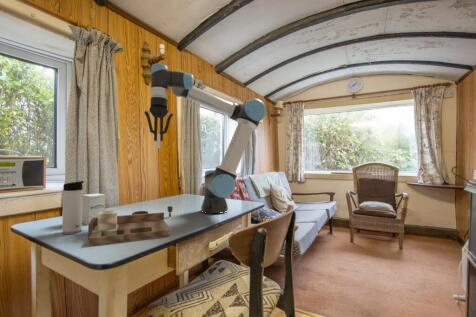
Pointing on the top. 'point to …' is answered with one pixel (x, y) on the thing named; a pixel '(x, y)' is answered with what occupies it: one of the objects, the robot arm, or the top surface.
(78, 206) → the travel mug
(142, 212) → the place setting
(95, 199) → the supplement box
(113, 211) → the beech block
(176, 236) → the top surface
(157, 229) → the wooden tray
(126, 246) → the top surface
